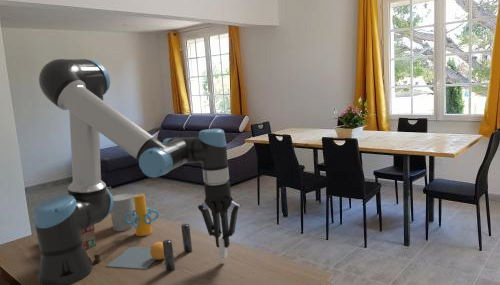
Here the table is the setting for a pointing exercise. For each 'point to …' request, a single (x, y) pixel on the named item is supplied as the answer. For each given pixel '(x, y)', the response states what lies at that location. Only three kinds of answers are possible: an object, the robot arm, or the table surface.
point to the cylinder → (141, 216)
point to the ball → (157, 251)
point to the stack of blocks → (88, 237)
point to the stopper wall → (105, 252)
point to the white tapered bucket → (122, 211)
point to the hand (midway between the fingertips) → (224, 256)
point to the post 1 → (168, 255)
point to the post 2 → (186, 238)
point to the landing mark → (134, 259)
